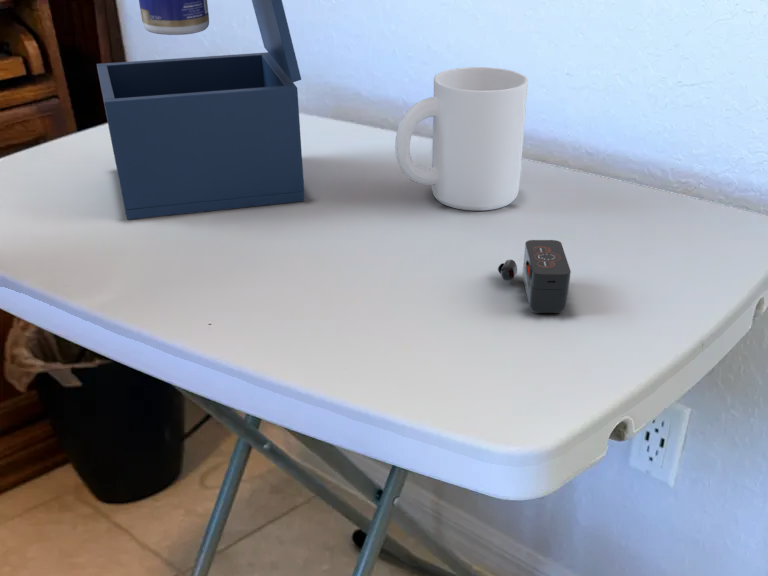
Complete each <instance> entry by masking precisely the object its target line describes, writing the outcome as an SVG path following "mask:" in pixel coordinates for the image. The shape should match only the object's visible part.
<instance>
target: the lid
mask: <svg viewBox="0 0 768 576" xmlns="http://www.w3.org/2000/svg"><path fill="white" fill-rule="evenodd" d="M251 3H252V7H253V10H254V14H255V19H256V22H257V25H258V29H259V33H260V35H261V40H262V44H263V47H264V49H265V50H266V51H267V52H268V53H269V54H270V55H271V56H272V58H273V59H274V60H275V61H276V63H277V64H278V65H279V66H280V68H281V69H282V70H283V71H284V72H285V74H286V75H287V76H288V77H289V79H290V80H291V81H292V82H293V83H296V82H300V81H301V80H302V76H301V72H300V68H299V64H298V60H297V55H296V52H295V48H294V44H293V40H292V36H291V32H290V27H289V24H288V19H287V16H286V11H285V8H284V3H283V0H251Z"/></svg>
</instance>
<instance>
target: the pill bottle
mask: <svg viewBox="0 0 768 576" xmlns="http://www.w3.org/2000/svg"><path fill="white" fill-rule="evenodd" d="M138 4H139V11H140V17H141V23H142V26H143V28H144V29H145V31H147V32H149V33H152V34H156V35H166V36H182V35H192V34H197V33H201V32H204V31H206V30H207V29H208V27H209V26H210V14H209V7H208V6H209V5H208V0H138Z"/></svg>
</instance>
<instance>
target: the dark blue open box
mask: <svg viewBox="0 0 768 576" xmlns="http://www.w3.org/2000/svg"><path fill="white" fill-rule="evenodd" d="M96 69H97V74H98V80H99V84H100V85H99V86H100V90H101V94H102V95H101V96H102V101H103V106H104V110H105V115H106V120H107V127H108V131H109V136H110V141H111V147H112V152H113V158H114V162H115V167H116V172H117V173H116V174H117V178H118V183H119V188H120V192H121V197H122V203H123V207H124V212H125V217H126V220H128V221H129V220H137V219H146V218H156V217H167V216H175V215H183V214H184V215H186V214H194V213H195V214H196V213H203V212H204V213H205V212H213V211H223V210H231V209H232V210H233V209H241V208H251V207H261V206H269V205H271V206H272V205H279V204H280V205H281V204H289V203H298V202H305V198H306V197H305V184H304V168H303V166H304V165H303V153H302V138H301V123H300V122H301V121H300V107H299V93H298V86H297V85H296V84H295V82H292V81H291V80H290V79H289V77H288V76H287V75H286V74H285V72H284V71H283V70H282V69H281V68H280V66H279V65H278V64H277V63H276V61H275V60H274V59H273V58H272V56H271V55H270V54H269V53H268V51H267V52H255V53H254V52H253V53H238V54H237V53H236V54H224V55H223V54H222V55H209V56H208V55H207V56H193V57H179V58H164V59H150V60H149V59H148V60H135V61H133V60H132V61H121V62H106V63H105V62H103V63H96Z"/></svg>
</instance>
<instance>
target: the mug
mask: <svg viewBox="0 0 768 576" xmlns="http://www.w3.org/2000/svg"><path fill="white" fill-rule="evenodd" d="M528 87H529V80H528V77H527V76H526V75H524V74H522V73H520V72H517V71H514V70H510V69H506V68H500V67H488V66H467V67H458V68H452V69H451V68H450V69H446V70H444V71H443V70H442V71H441V72H438V73H436V74H435V75H434V77H433V96H430V97H427V98H424V99H422V100H419V101H418V102H416V103H414V104H413V105H412V106H411V107H410V108H408V110H407V111H406V112H405V113H404V115H403V116H402V118H401V120H400V122H399V124H398V126H397V127H398V128H397V131H396V133H395V143H394V149H395V155H396V160H397V161H396V162H397V164H398V166H399V169H400V170H401V172H402V174H403V175H405V177H406V178H408V179H409V180H410V181H412V182H414V183H416V184H419V185H426V186H427V185H428V186H429V185H431V190H432V191H431V192H432V194H433V196H434V198H435V199H436V200H437V201H438V202H439V203H441V204H442V205H444V206H447V207H450V208H453V209H457V210H462V211H475V212H476V211H477V212H480V211H492V210H498V209H502V208H504V207H507V206H508V205H510V204H512V203H513V202H514V201H515V200H516V198H517V196H518V194H519V189H520V184H521V173H522V161H523V148H524V134H525V126H526V125H525V123H526V112H527V111H526V110H527V99H528ZM428 118H432V141H431V142H432V143H431V144H432V145H431V167H426V168H425V167H420V166H418V165H417V164H416V163H415V162H414V160H413V159H412V155H411V154H412V153H411V139H412V135H413V133H414V131H415V128H416V127H417V126H418V124H419V123H420V122H422V121H423V120H425V119H428Z"/></svg>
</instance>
